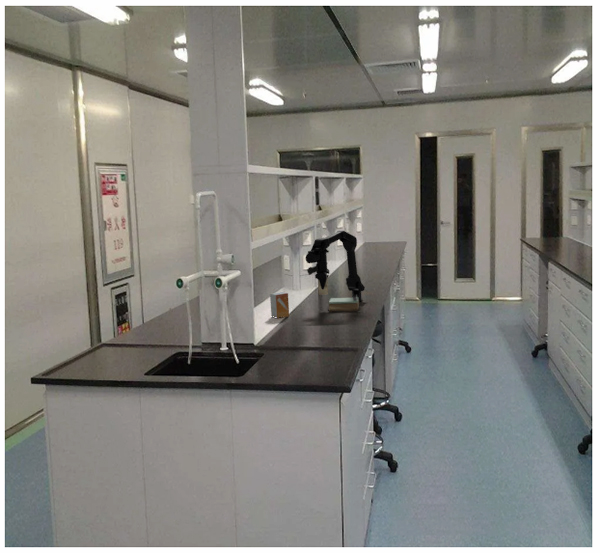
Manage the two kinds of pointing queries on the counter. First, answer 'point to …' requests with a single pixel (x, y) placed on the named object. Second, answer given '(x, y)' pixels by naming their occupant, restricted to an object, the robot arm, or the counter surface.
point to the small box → (279, 304)
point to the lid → (344, 300)
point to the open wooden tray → (344, 307)
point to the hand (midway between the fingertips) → (323, 288)
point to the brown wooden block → (323, 291)
